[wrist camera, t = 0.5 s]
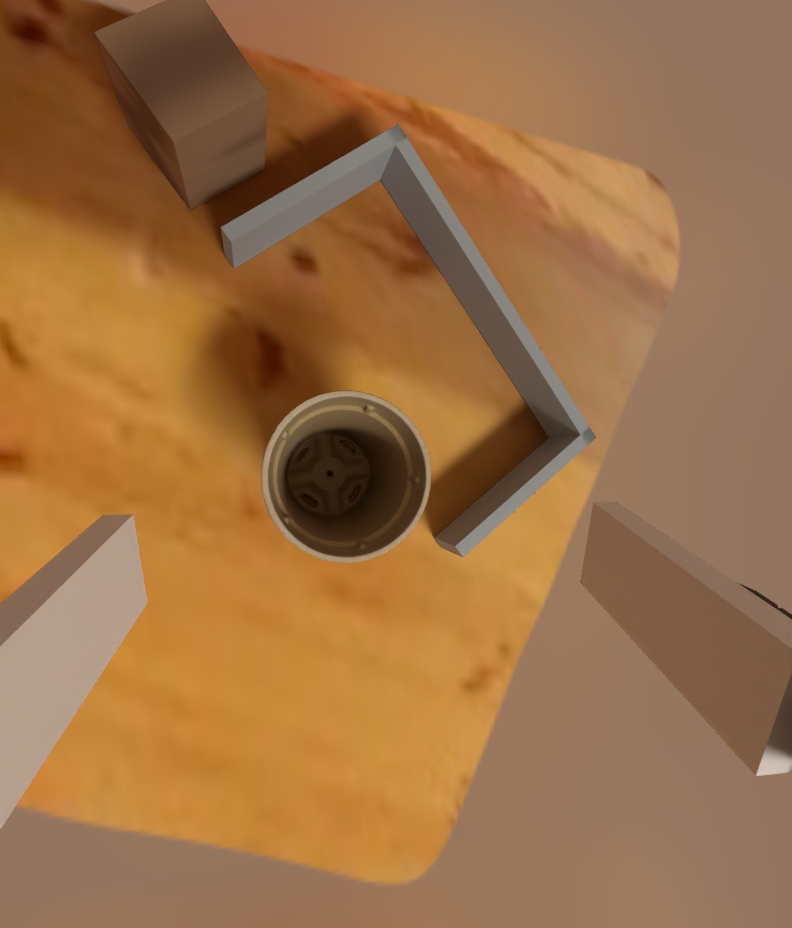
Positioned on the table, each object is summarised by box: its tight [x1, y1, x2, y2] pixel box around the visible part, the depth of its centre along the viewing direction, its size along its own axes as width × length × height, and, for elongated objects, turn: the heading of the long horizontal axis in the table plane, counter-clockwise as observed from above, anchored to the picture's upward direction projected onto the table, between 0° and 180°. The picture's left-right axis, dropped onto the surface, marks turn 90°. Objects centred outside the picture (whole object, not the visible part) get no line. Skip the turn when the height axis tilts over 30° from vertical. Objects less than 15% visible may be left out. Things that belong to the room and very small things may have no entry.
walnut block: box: [94, 0, 268, 210], centre depth 28 cm, size 6×6×7 cm
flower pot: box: [261, 390, 431, 563], centre depth 30 cm, size 9×9×9 cm
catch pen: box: [221, 124, 596, 557], centre depth 34 cm, size 26×14×4 cm, turn 38°
